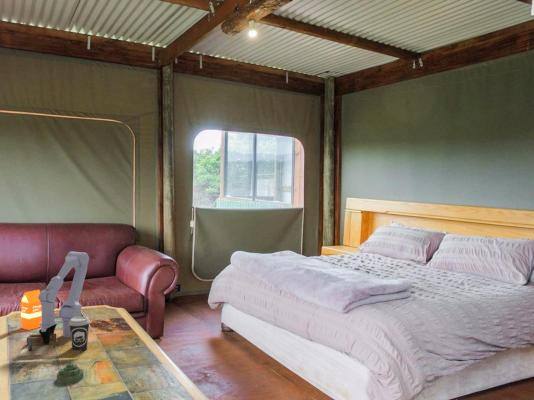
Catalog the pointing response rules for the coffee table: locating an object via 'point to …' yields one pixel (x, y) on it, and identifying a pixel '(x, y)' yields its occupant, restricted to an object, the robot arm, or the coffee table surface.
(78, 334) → the coffee cup
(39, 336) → the walnut link
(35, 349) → the birch board
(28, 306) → the orange juice
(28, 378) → the coffee table surface
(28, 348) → the peg
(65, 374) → the decorative artifact
